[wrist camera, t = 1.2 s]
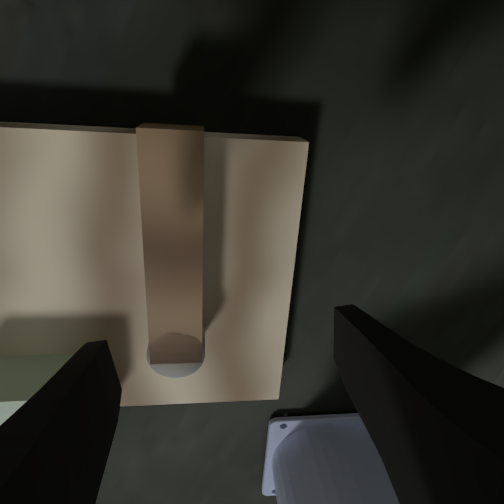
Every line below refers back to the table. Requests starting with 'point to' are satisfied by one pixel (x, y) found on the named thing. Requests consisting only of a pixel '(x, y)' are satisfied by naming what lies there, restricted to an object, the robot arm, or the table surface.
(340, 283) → the table surface
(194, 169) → the stool leg
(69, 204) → the stool seat
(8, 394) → the block
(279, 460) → the robot arm
